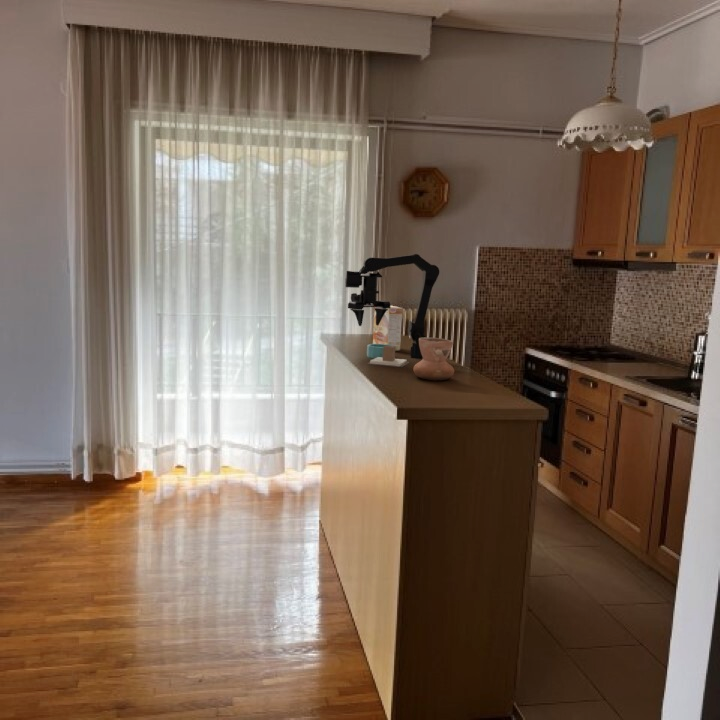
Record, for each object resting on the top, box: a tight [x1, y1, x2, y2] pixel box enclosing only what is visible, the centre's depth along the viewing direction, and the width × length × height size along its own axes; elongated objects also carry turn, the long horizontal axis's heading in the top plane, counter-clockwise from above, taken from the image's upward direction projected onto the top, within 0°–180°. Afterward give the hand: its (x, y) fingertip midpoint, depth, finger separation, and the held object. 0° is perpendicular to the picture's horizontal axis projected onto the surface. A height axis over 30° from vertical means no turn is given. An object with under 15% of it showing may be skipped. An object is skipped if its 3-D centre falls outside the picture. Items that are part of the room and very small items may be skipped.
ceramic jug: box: [413, 336, 455, 382], centre depth 251 cm, size 18×14×14 cm
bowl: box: [366, 343, 392, 359], centre depth 295 cm, size 11×11×5 cm
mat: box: [366, 361, 410, 368], centre depth 280 cm, size 14×14×1 cm
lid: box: [369, 346, 408, 367], centre depth 279 cm, size 12×12×6 cm
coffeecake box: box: [372, 305, 403, 351], centre depth 323 cm, size 15×7×20 cm, turn 25°
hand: (368, 325), depth 295 cm, fingers open, 9 cm apart
